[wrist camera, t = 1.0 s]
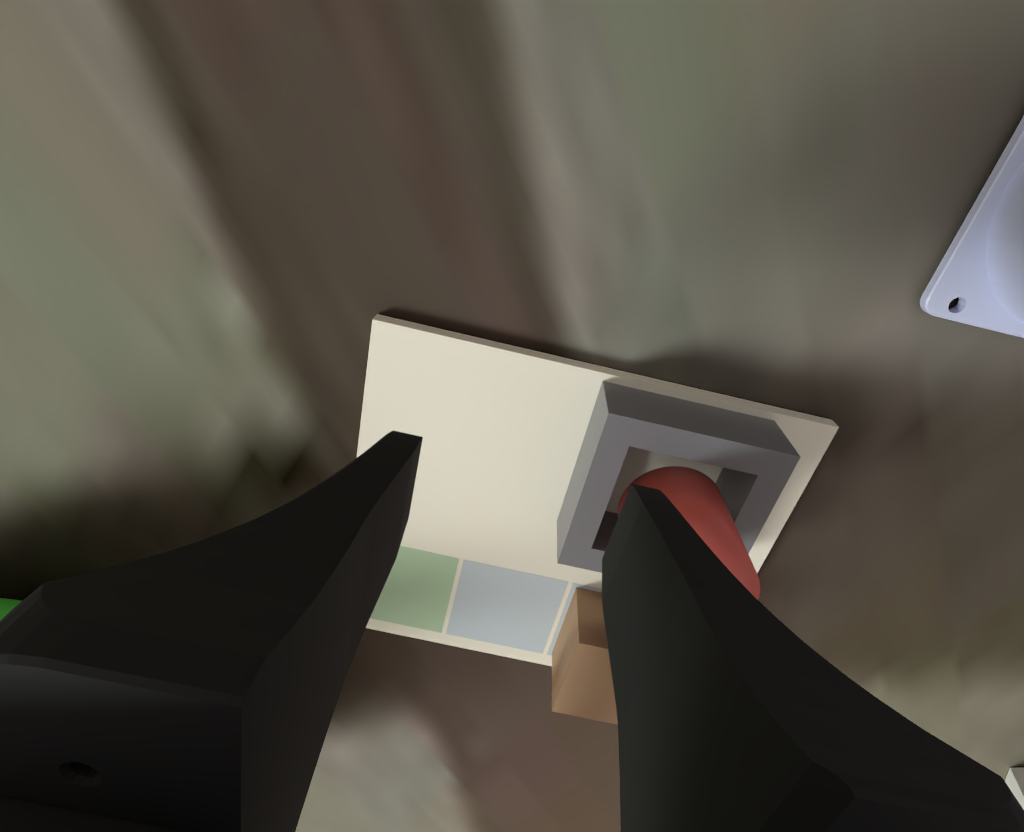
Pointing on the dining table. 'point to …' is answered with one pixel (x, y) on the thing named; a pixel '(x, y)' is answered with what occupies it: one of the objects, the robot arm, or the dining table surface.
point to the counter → (583, 662)
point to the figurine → (1016, 783)
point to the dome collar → (676, 432)
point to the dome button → (704, 516)
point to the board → (511, 481)
